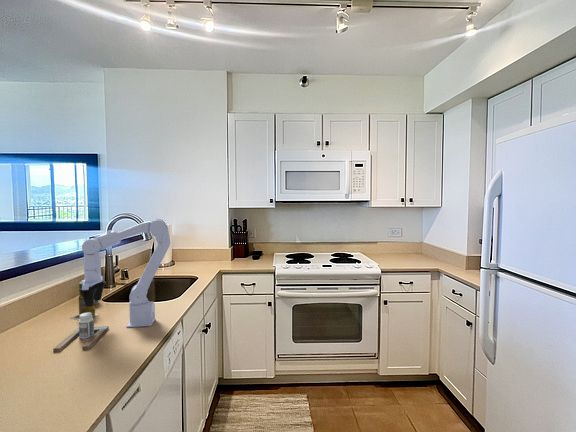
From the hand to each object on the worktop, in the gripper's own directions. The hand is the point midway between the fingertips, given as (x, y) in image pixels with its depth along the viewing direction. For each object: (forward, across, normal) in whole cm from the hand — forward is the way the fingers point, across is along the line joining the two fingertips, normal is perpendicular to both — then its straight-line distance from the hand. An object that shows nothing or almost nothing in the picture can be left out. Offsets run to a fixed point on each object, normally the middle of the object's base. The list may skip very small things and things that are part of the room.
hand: (93, 303), depth 129 cm
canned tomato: (+11, -35, -16) cm, 40 cm away
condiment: (+11, -16, -10) cm, 22 cm away
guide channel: (+10, +12, 0) cm, 16 cm away
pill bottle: (+11, +7, 0) cm, 13 cm away
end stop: (+10, +2, 0) cm, 11 cm away
